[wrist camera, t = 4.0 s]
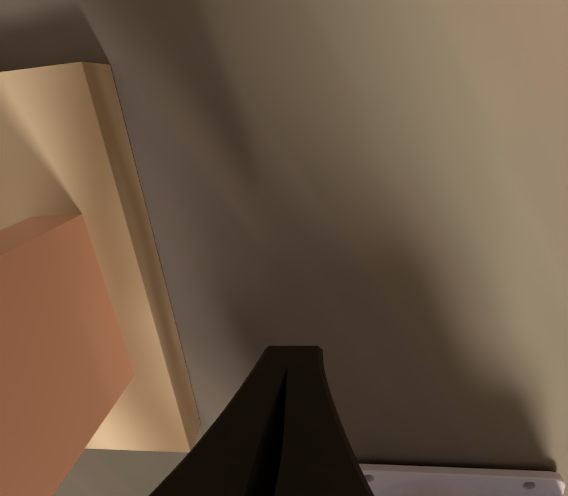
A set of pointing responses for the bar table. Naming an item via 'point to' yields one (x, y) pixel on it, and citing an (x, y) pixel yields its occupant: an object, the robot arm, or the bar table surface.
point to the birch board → (100, 234)
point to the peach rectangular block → (53, 352)
